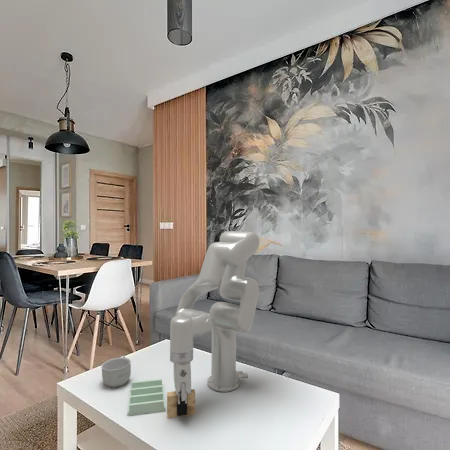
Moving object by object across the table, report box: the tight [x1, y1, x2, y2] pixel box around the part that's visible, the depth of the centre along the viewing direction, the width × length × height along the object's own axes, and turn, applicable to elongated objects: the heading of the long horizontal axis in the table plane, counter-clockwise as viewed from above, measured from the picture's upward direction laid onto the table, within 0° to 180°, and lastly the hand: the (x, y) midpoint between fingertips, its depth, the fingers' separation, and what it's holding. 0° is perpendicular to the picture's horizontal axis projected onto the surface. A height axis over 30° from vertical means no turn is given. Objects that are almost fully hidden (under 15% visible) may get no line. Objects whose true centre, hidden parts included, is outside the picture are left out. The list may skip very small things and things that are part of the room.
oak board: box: [166, 388, 196, 419], centre depth 102 cm, size 9×3×7 cm, turn 104°
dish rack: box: [127, 378, 166, 417], centre depth 109 cm, size 12×16×3 cm
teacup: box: [100, 355, 132, 388], centre depth 122 cm, size 14×11×8 cm
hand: (181, 409), depth 102 cm, fingers open, 4 cm apart
